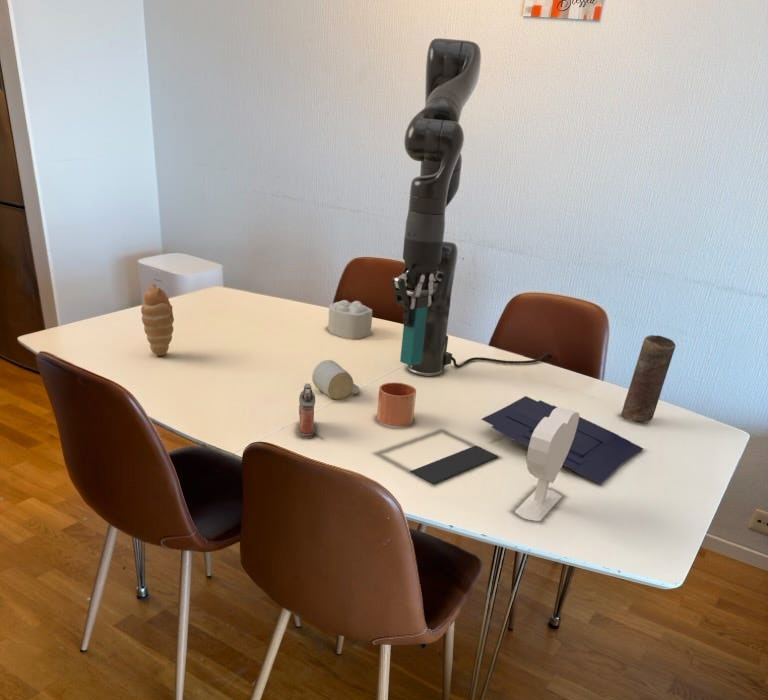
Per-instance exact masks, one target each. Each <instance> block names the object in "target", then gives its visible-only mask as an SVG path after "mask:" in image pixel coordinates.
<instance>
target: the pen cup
mask: <svg viewBox="0 0 768 700" xmlns="http://www.w3.org/2000/svg"><path fill="white" fill-rule="evenodd" d="M416 397H417V389H416V388H415V387H414V386H412V385H410V384H407V383H403V382H385V383H382V384H380V385H379V388H378V399H377V413H376V419H377V421H379V423H381V424H385V425H387V426H392V427H404V426H409V425H411V424H412V423H413V421H414V415H415V407H416Z"/></svg>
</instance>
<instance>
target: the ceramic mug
mask: <svg viewBox="0 0 768 700" xmlns="http://www.w3.org/2000/svg"><path fill="white" fill-rule="evenodd" d="M311 376H312V377H311V379H312V383H313V386H314V387H315V388H316V389H318V390H319V391H320V392H322V393H323V394H325V395H326V396H327V397H329V398H331V399H333V400H337V401H338V400H343V399H346V398H347V397H348V396H349V395H350V394H354V395H357V394H358V393H359V392H360V386H358V385H357V384H355V383H354V380H353V379H354V378H353V377H352V375H351V374H350V373H349V372H348V371H347V370H346V369H344V367H342V366H341V365H340V364H339V363H337V362H336V361H334V360H333V359H325V360H322V361H320V362H319V363H318V364H316V366H315V368H314V369H313V372H312V375H311Z"/></svg>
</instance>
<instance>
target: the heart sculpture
mask: <svg viewBox="0 0 768 700" xmlns="http://www.w3.org/2000/svg"><path fill="white" fill-rule="evenodd" d="M556 407H557V408H555V409H554V410H553V411H552V412H551V414H550V416H549V418H548V417H544V418H543V419H542V420H541V421H540V423H539V424H538V425H537V427H536V428H535V430H534V432H533V434H532V436H531V440H530V443H529V447H527V455H526V469H527V471H528V472H529V474H530V475H532V476H533V477H534V478H536V479H538V480H537V484H536V488H535V490H533V492H532V493H531V494H530V495H529V496H528V497H527V498H526V499H525V500H524V501H523V502H522V503H521V505H519V506H518V508H516V509H515V511H514V513H515V514H516V515H518V516H519V517H521V518H522V519H524V520H529V521H536V522H541V521H542V520H543V519H544V517H545V516H546V515H547V514H548V513H549V512H550V510H551V509H552V508H553V507H554V505H556V504H557V503H558V502H559V501H560V500H561V498H562V495H560V494H559V493H558V492H556V491H554V490H553V489H549V485H550V483H551V484H554V482H555V480H556V478H557V476H558V474H559V472H560V470H561V469H562V467H563V466H564V465H563V463H564V461H565V459H566V456H567V454H568V452H569V450H570V447H571V444H572V442H573V439H574V436H575V432H576V429H577V425H578V421H579V417H580V413H579V412H578V411H574V410H572V409H571V410H570V409H568V408H564V407H559V406H556Z"/></svg>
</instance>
